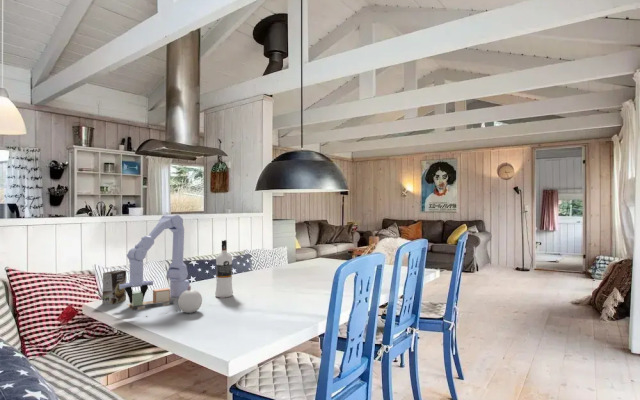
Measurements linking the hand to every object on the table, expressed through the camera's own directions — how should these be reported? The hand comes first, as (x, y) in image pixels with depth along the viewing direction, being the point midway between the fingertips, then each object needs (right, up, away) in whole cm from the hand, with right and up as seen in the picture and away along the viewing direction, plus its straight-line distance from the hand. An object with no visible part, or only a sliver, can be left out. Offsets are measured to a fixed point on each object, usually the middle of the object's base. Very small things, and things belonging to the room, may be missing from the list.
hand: (136, 302), depth 182 cm
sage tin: (0, -2, 0) cm, 2 cm away
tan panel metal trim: (+5, -3, +3) cm, 7 cm away
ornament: (+28, -3, -8) cm, 29 cm away
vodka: (+36, -3, +24) cm, 43 cm away
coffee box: (-15, -3, +8) cm, 17 cm away
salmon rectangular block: (+9, -2, +7) cm, 12 cm away
